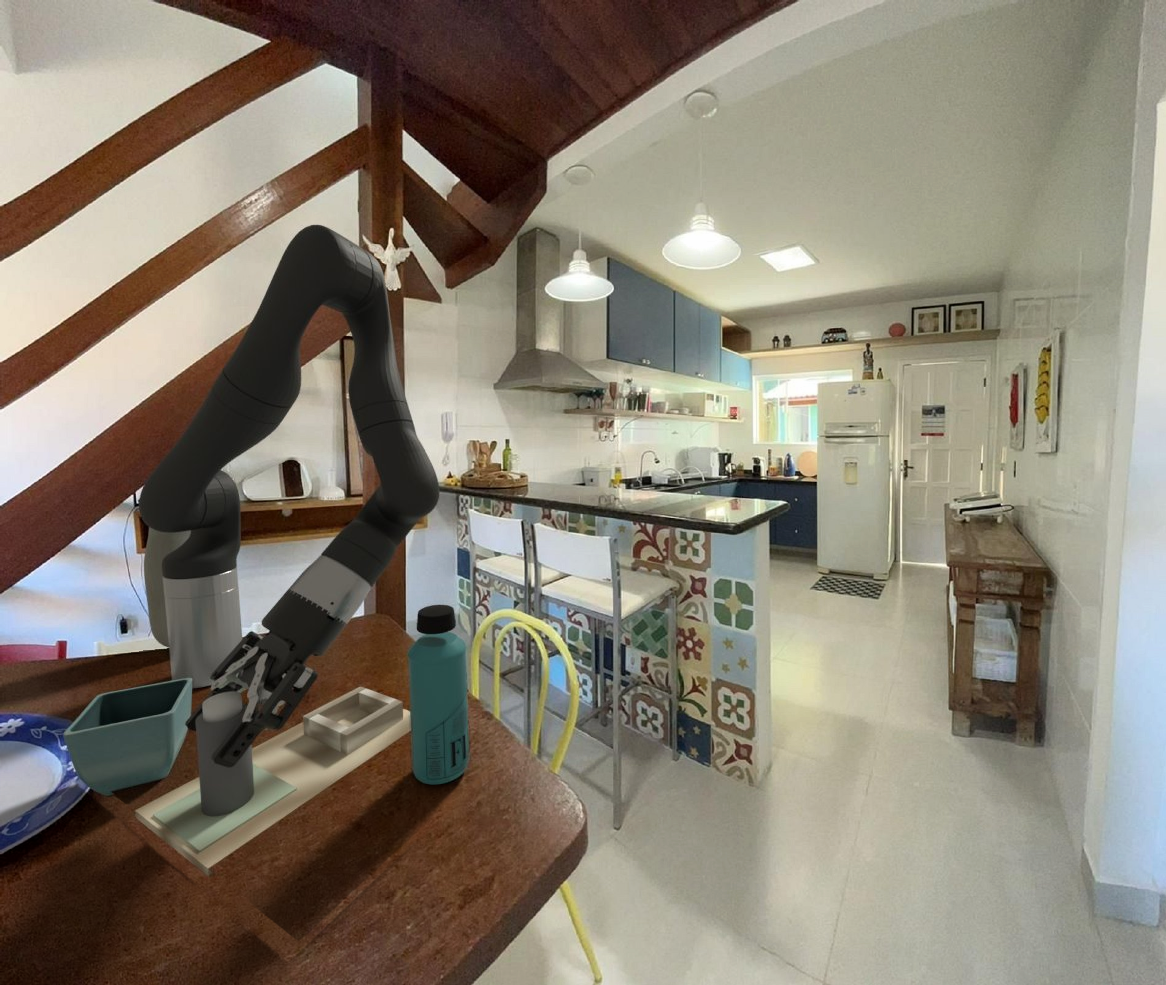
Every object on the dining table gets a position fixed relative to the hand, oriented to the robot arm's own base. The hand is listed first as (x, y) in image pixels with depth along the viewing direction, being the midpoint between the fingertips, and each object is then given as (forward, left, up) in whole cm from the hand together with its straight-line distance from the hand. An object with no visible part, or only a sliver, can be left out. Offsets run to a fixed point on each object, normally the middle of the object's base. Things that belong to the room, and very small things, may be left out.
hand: (206, 746), depth 48 cm
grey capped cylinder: (0, +1, -7) cm, 7 cm away
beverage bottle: (+16, +15, -8) cm, 24 cm away
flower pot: (-14, -1, -8) cm, 16 cm away
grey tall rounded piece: (-50, +19, -8) cm, 54 cm away
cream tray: (0, +9, -8) cm, 12 cm away
